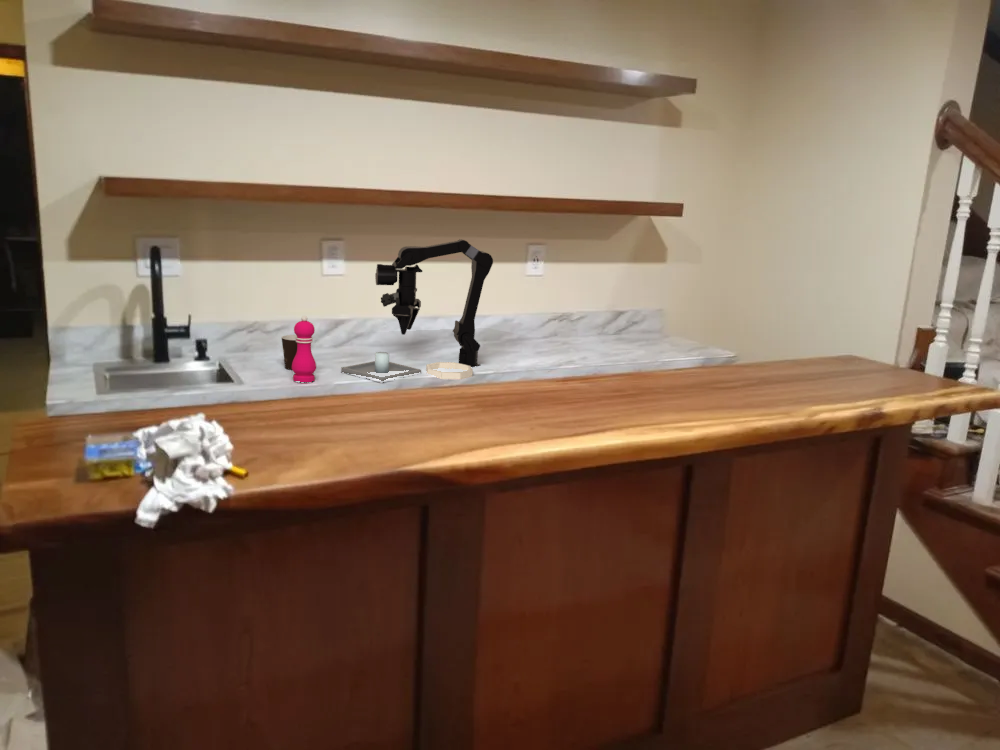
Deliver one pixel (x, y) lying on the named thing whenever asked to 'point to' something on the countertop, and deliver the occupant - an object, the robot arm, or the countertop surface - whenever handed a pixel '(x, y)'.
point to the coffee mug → (289, 350)
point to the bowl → (449, 374)
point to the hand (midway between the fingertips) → (406, 331)
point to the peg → (381, 362)
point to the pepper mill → (304, 352)
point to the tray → (370, 367)
